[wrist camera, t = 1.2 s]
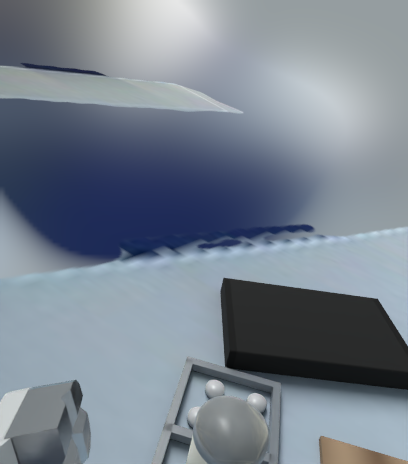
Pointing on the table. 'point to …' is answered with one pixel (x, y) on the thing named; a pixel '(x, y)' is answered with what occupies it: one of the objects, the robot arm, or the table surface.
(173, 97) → the table surface
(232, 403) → the cylinder
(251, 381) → the parts tray
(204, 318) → the table surface
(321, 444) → the walnut pad
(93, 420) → the table surface
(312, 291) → the external hard drive
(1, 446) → the robot arm
